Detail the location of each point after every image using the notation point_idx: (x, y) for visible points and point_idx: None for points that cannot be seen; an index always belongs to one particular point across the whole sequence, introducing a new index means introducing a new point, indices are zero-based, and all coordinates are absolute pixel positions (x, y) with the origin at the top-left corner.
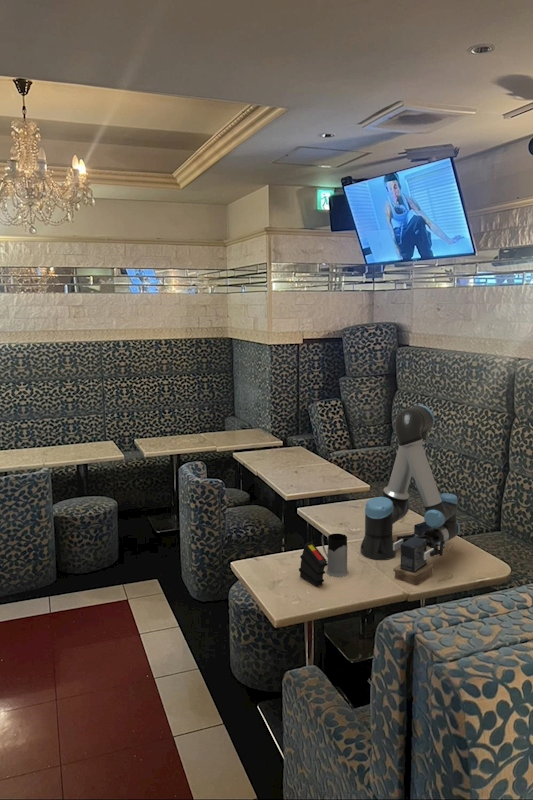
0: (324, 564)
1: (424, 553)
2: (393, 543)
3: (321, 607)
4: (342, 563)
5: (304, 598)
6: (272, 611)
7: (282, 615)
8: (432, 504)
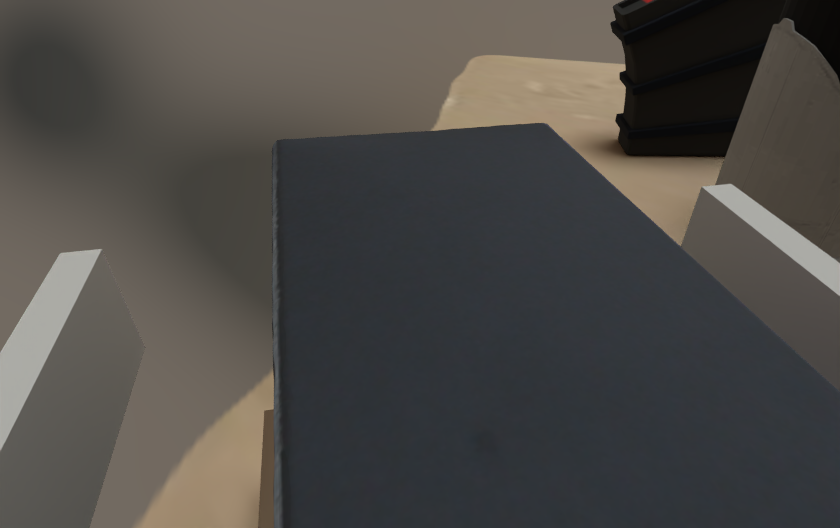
0: (622, 27)
1: (92, 257)
2: (733, 187)
3: (456, 103)
4: (730, 156)
5: (545, 101)
6: (515, 56)
7: (481, 59)
8: None
